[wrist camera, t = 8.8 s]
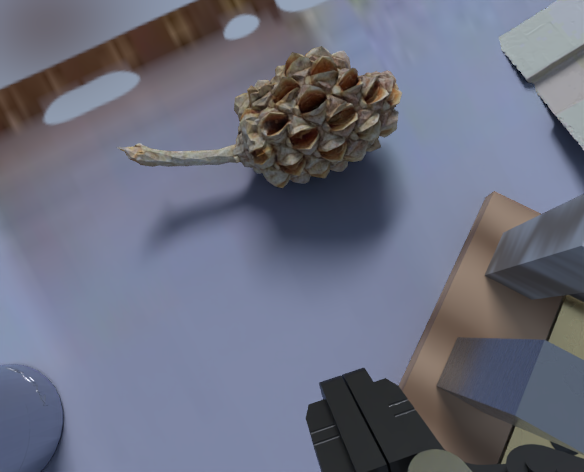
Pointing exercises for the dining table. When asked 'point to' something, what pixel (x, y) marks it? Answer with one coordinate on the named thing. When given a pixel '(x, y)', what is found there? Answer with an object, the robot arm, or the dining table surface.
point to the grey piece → (553, 59)
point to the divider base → (495, 310)
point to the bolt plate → (570, 337)
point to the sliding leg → (521, 385)
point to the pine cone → (300, 121)
